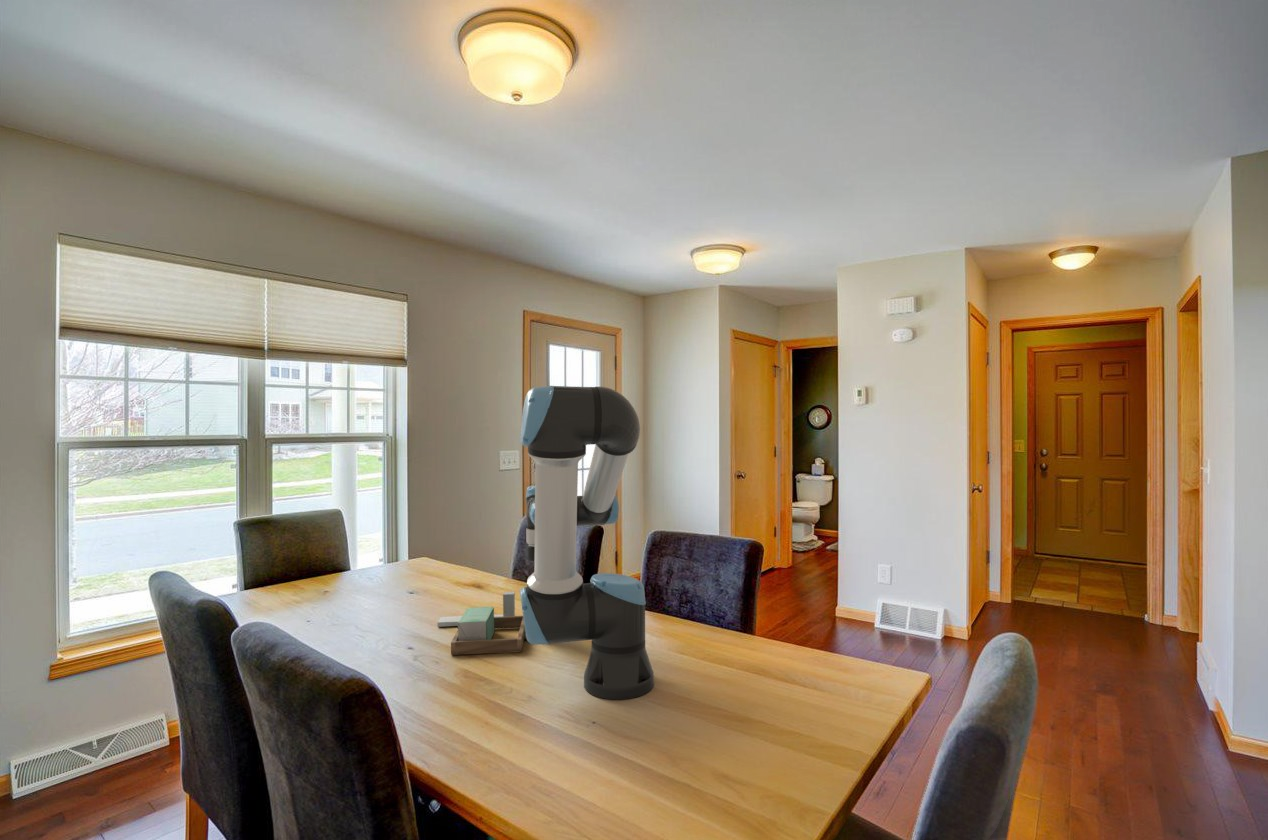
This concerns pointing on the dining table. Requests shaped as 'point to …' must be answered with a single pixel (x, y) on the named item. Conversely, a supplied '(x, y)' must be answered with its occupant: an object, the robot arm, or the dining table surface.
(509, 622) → the walnut frame
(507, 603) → the grey l-shaped bracket
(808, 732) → the dining table surface
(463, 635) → the box
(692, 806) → the dining table surface
